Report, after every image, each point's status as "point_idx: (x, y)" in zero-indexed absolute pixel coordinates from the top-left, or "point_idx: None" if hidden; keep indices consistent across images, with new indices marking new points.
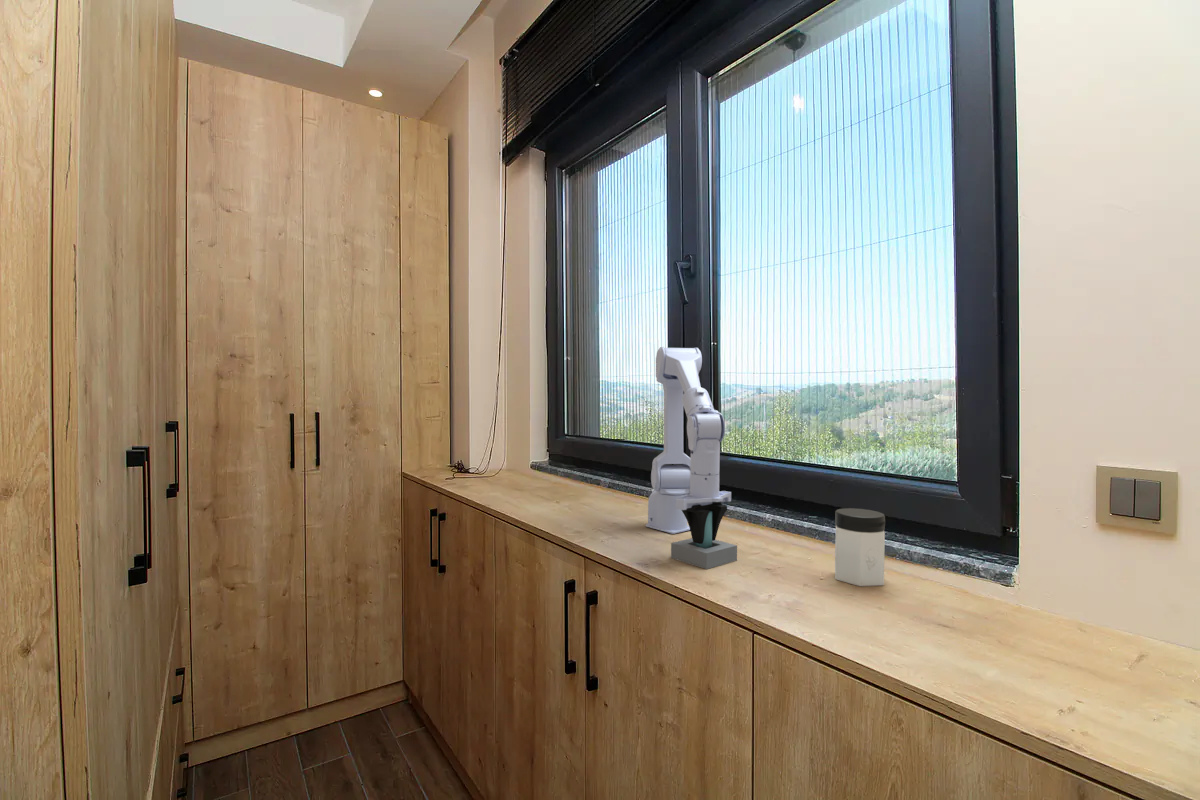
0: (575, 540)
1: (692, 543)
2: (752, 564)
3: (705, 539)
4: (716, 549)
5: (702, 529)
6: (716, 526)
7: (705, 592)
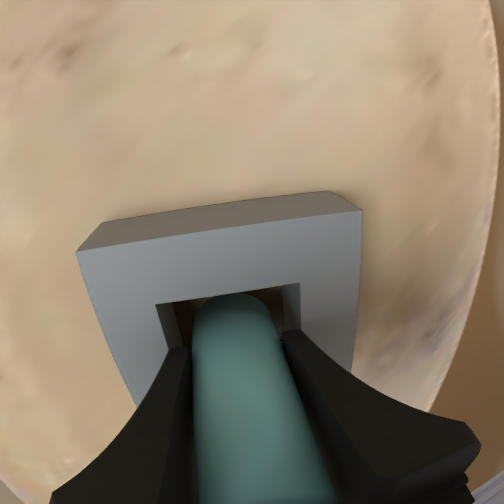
0: None
1: None
2: (77, 140)
3: (269, 343)
4: (253, 244)
5: (337, 374)
6: (170, 402)
7: (478, 39)
